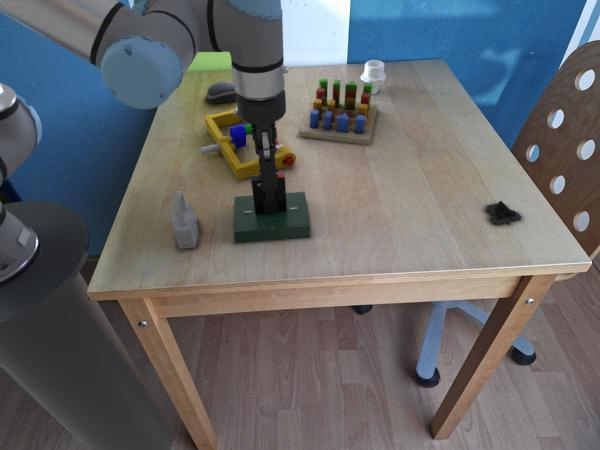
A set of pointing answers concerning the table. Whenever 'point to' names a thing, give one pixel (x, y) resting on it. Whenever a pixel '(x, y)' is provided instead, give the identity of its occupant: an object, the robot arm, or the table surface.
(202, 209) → the table surface
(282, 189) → the black bar red tab
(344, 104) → the peg board
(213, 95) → the computer mouse
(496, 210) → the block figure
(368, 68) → the pipe fitting
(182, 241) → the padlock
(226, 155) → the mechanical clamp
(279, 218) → the green rectangular block
